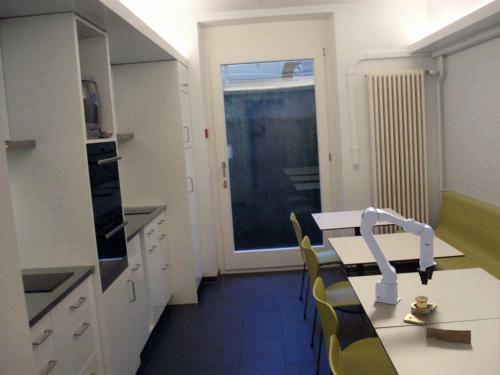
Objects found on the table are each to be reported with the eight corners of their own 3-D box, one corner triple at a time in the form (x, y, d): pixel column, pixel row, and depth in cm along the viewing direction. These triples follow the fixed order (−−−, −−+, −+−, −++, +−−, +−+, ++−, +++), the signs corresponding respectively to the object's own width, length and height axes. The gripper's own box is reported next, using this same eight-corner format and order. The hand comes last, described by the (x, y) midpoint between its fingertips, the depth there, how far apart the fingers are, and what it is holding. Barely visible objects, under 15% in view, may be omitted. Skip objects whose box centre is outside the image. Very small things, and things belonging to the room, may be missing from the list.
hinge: (403, 321, 193) (403, 313, 193) (418, 303, 211) (418, 295, 211) (423, 325, 189) (423, 317, 188) (436, 306, 207) (436, 298, 206)
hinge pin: (414, 315, 199) (414, 299, 198) (417, 310, 203) (416, 295, 202) (426, 317, 196) (426, 301, 195) (429, 312, 201) (429, 296, 199)
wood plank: (470, 342, 174) (470, 329, 173) (471, 344, 172) (471, 331, 171) (426, 337, 179) (426, 325, 178) (426, 340, 177) (426, 327, 176)
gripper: (432, 257, 201) (432, 288, 203) (440, 249, 212) (439, 278, 214) (415, 256, 205) (415, 285, 207) (423, 247, 216) (423, 276, 218)
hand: (426, 281), depth 211 cm, fingers open, 7 cm apart
